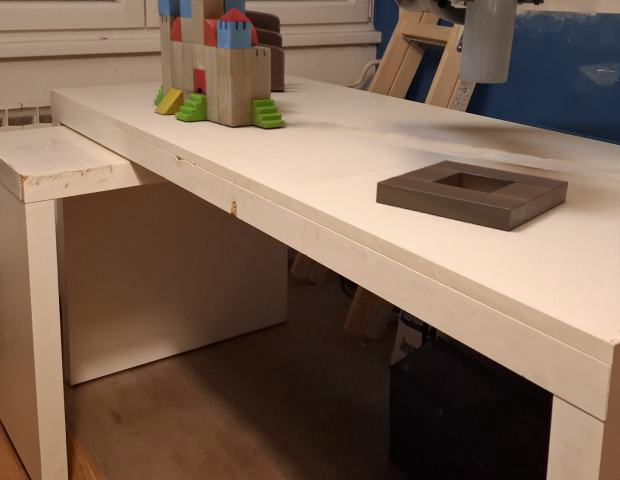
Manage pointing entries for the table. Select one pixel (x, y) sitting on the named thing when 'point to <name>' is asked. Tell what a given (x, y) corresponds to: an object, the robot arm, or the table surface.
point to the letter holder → (270, 44)
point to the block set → (214, 65)
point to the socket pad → (473, 193)
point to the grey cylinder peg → (487, 40)
